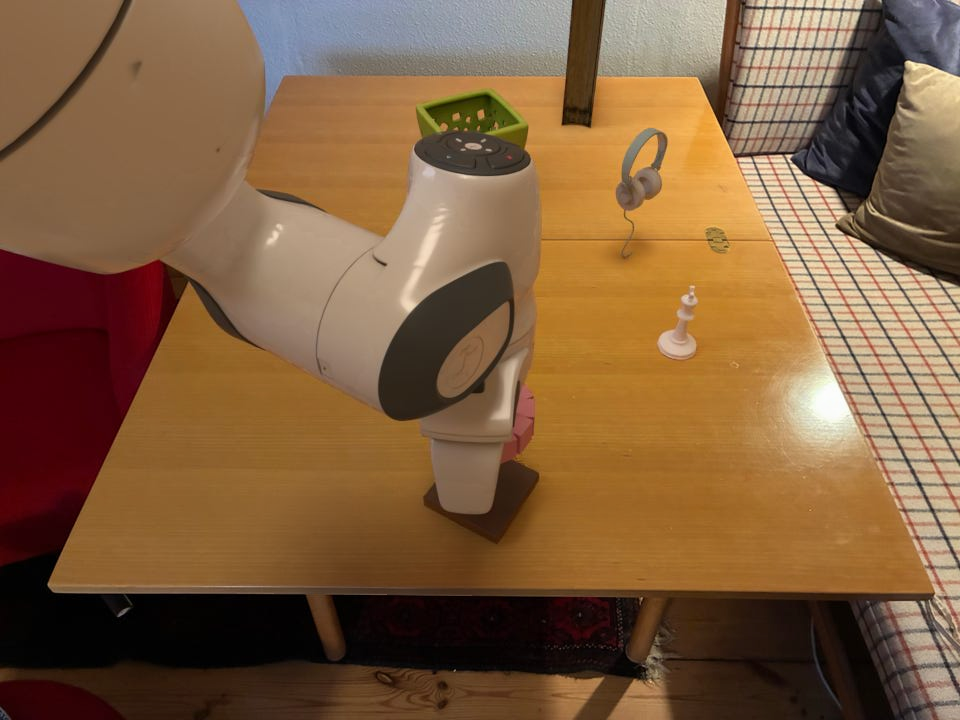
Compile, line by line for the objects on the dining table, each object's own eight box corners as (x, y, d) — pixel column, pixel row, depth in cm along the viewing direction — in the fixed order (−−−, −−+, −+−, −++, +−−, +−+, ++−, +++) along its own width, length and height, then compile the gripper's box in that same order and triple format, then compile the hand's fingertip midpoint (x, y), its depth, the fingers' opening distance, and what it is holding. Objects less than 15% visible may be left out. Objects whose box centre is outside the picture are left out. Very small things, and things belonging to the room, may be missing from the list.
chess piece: (695, 335, 91) (713, 276, 84) (696, 362, 88) (715, 302, 81) (657, 331, 92) (671, 271, 84) (657, 357, 88) (672, 298, 81)
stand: (496, 544, 70) (498, 467, 61) (423, 504, 74) (414, 425, 64) (538, 480, 76) (546, 400, 66) (468, 446, 79) (466, 364, 69)
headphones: (619, 275, 100) (642, 149, 85) (597, 263, 102) (616, 137, 87) (654, 250, 104) (681, 126, 89) (632, 239, 106) (656, 115, 91)
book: (567, 88, 141) (579, -49, 123) (594, 90, 140) (610, -48, 122) (561, 127, 130) (573, -17, 112) (590, 129, 129) (607, -16, 111)
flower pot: (418, 173, 119) (412, 102, 110) (491, 155, 123) (491, 85, 114) (450, 216, 110) (447, 142, 101) (528, 195, 114) (532, 122, 105)
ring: (532, 469, 62) (534, 450, 60) (424, 464, 63) (422, 445, 61) (534, 388, 69) (535, 369, 67) (436, 384, 70) (435, 365, 68)
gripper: (450, 251, 60) (455, 362, 70) (414, 442, 45) (427, 547, 55) (523, 254, 59) (518, 366, 69) (510, 448, 45) (506, 553, 55)
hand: (478, 448), depth 62 cm, fingers closed on ring, 2 cm apart
